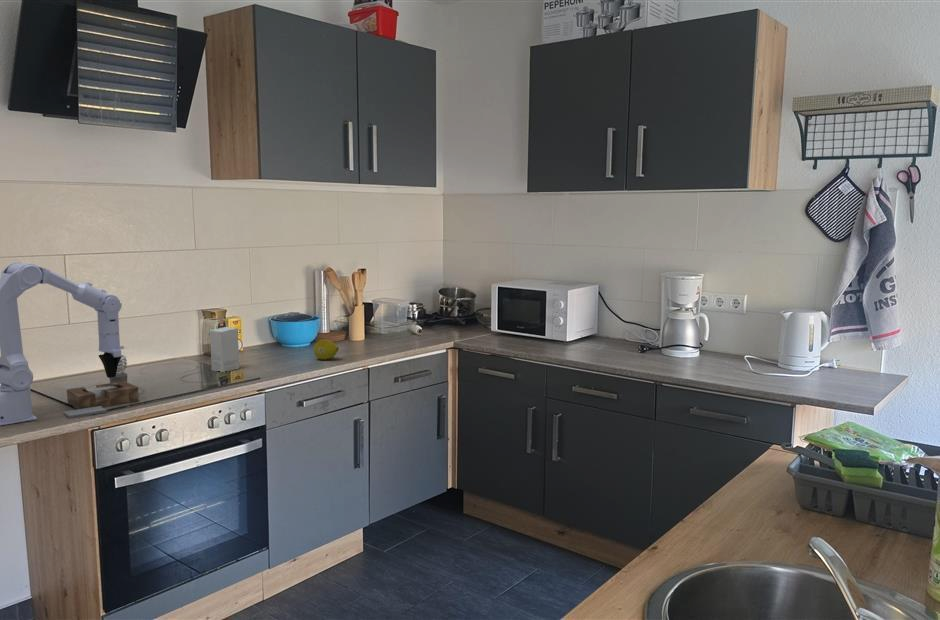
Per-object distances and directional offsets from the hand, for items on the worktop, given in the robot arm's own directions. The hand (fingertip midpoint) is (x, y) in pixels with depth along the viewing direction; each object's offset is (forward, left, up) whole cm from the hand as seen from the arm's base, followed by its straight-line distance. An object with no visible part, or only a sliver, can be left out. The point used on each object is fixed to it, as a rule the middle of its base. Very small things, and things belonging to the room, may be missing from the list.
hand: (111, 377), depth 230 cm
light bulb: (+6, +14, -8) cm, 17 cm away
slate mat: (-11, -10, -8) cm, 16 cm away
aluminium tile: (-3, 0, -6) cm, 6 cm away
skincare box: (+46, +21, -8) cm, 51 cm away
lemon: (+84, +13, -8) cm, 86 cm away
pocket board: (-3, 0, -8) cm, 8 cm away
